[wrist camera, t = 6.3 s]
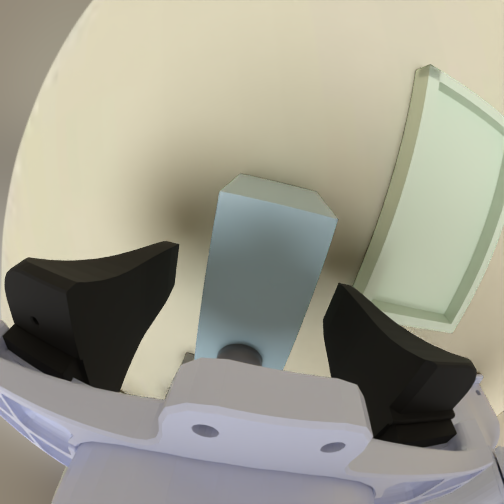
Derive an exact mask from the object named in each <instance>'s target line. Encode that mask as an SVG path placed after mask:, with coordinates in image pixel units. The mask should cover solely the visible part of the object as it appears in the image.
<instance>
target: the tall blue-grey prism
mask: <svg viewBox="0 0 504 504" xmlns="http://www.w3.org/2000/svg"><path fill="white" fill-rule="evenodd" d="M337 221H338V219H337V217H336V216H335V215H334V213H333V212H332V211H331V210H330V208H329V207H328V206H327V204H326V203H325V202H324V201H323V199H322V198H321V197H320V196H319V194H318V193H317V192H316V191H312V190H308V189H304V188H301V187H297V186H293V185H289V184H285V183H280V182H276V181H272V180H268V179H263V178H259V177H254V176H250V175H245V174H239V175H238V176H237V177H236V178H235V179H233V180H232V181H231V182H230V183H229V184H227V185H226V186H225V187H224V188H223V189H222V190H220V192H219V198H218V203H217V209H216V214H215V220H214V226H213V232H212V238H211V244H210V250H209V256H208V262H207V269H206V275H205V282H204V289H203V296H202V303H201V310H200V317H199V325H198V333H197V341H196V349H195V358H194V360H196V359H198V358H216V359H229V360H233V361H238V362H242V363H247V364H252V365H256V366H261V367H267V368H272V369H277V370H283V368H284V366H285V364H286V361H287V359H288V356H289V354H290V352H291V349H292V347H293V344H294V342H295V340H296V337H297V335H298V332H299V330H300V327H301V324H302V322H303V319H304V317H305V314H306V312H307V309H308V306H309V304H310V301H311V298H312V296H313V293H314V290H315V287H316V284H317V282H318V279H319V276H320V273H321V270H322V267H323V264H324V262H325V259H326V256H327V253H328V250H329V247H330V244H331V240H332V237H333V234H334V231H335V228H336V225H337Z"/></svg>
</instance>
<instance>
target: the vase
mask: <svg viewBox="0 0 504 504" xmlns="http://www.w3.org/2000/svg"><path fill="white" fill-rule="evenodd" d="M497 418H498V421H499V424H500V435H499V440H498V443H497V447H498V446H501V447H503V446H504V411H503V412H502V413H500V414H499V415H498V416H497Z"/></svg>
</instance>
